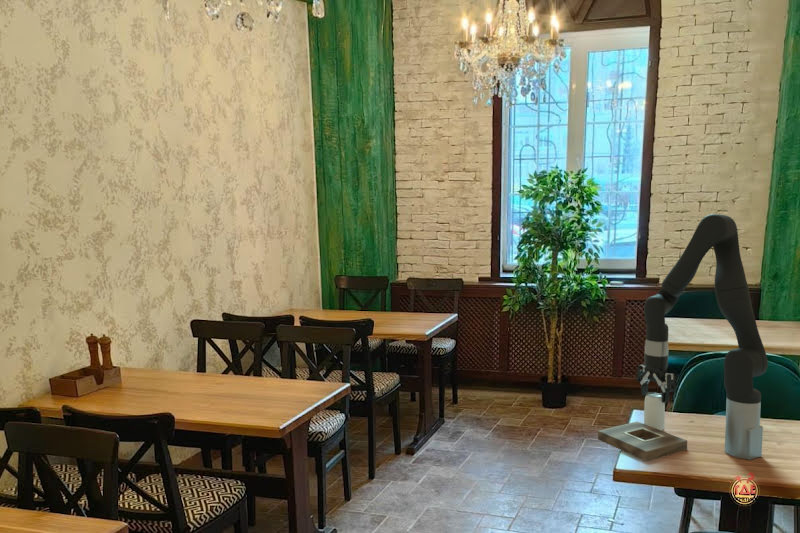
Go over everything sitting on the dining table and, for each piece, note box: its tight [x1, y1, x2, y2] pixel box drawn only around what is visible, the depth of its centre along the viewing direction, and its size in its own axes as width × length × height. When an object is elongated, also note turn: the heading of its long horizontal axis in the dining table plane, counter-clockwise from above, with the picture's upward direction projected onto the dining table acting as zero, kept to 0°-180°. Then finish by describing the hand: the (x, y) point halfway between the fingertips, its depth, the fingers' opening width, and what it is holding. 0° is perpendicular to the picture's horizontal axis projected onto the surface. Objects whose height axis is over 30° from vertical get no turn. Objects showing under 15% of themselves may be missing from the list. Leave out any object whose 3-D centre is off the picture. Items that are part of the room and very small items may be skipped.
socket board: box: [597, 421, 688, 462], centre depth 201 cm, size 20×18×3 cm
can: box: [643, 392, 666, 431], centre depth 215 cm, size 6×6×12 cm
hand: (654, 398), depth 215 cm, fingers open, 8 cm apart
